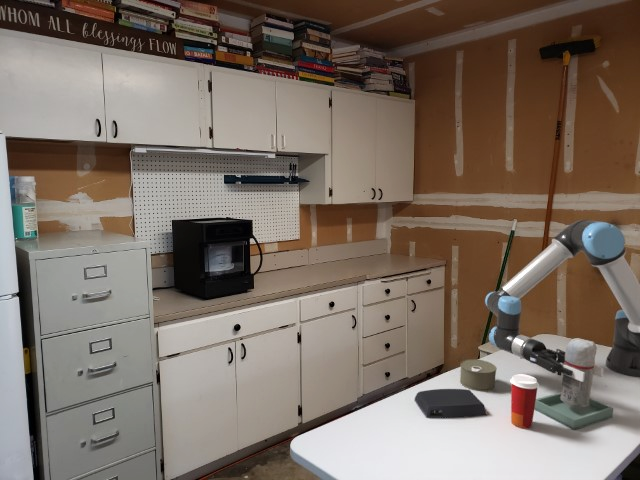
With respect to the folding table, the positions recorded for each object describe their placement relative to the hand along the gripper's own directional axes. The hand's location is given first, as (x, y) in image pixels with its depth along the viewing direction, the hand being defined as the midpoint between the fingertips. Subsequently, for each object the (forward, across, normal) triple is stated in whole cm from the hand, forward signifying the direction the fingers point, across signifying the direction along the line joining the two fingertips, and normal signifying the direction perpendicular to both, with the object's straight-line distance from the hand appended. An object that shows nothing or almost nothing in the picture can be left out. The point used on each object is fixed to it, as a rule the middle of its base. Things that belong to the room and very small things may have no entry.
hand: (592, 374), depth 141 cm
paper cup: (-7, +21, -14) cm, 26 cm away
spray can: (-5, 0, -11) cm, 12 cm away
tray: (-5, +1, -14) cm, 15 cm away
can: (-33, +13, -15) cm, 38 cm away
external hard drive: (-23, +34, -15) cm, 44 cm away
